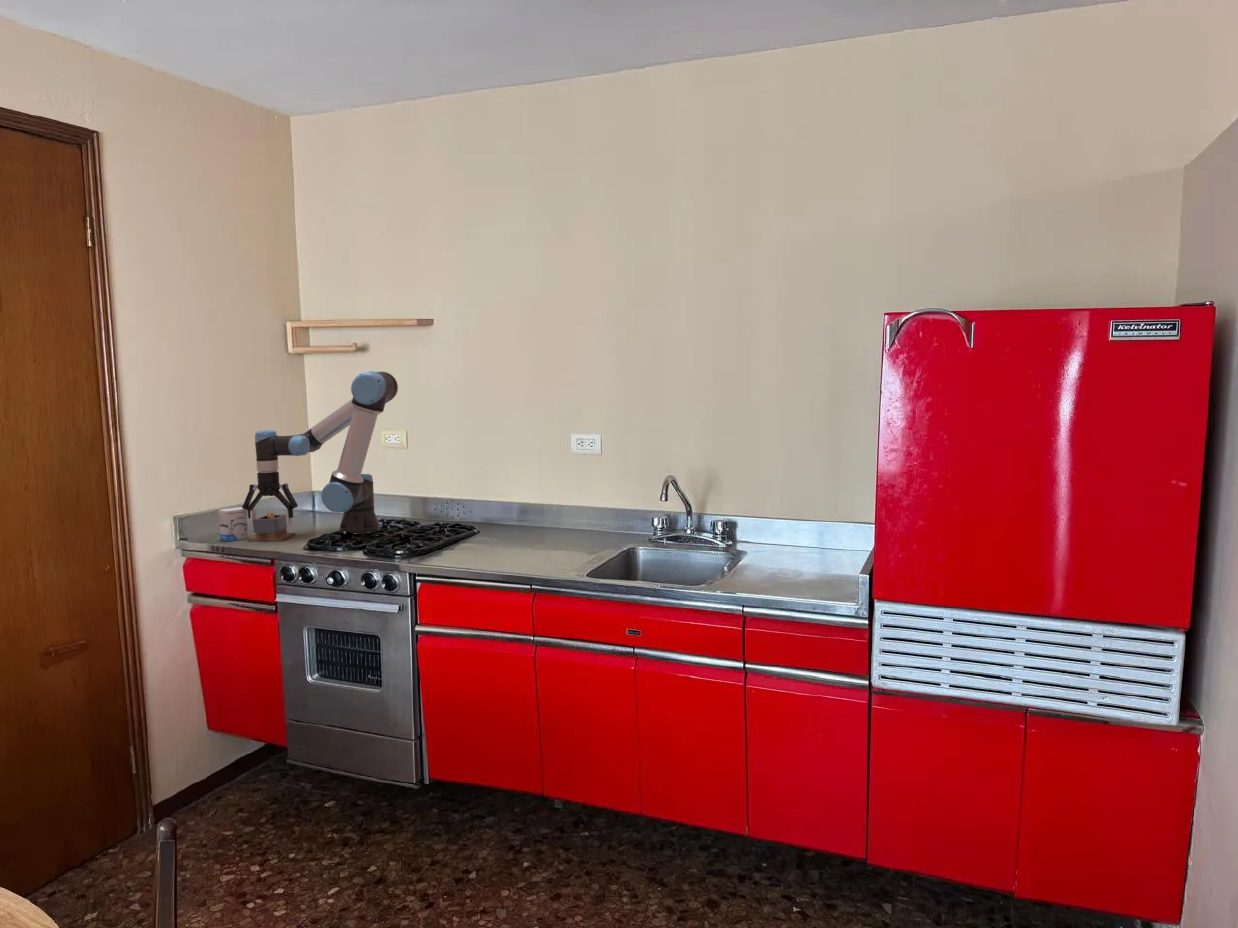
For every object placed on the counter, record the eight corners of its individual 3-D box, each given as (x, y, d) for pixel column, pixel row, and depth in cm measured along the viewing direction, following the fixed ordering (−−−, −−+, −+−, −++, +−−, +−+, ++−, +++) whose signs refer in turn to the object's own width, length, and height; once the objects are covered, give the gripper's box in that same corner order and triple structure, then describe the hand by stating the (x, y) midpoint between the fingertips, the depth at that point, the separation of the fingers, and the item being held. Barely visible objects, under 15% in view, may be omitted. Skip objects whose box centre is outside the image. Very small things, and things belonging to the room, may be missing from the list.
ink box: (226, 542, 305) (224, 511, 304) (220, 540, 308) (217, 509, 307) (248, 538, 312) (246, 507, 311) (242, 536, 315) (240, 506, 314)
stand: (295, 535, 315) (295, 527, 315) (284, 540, 305) (284, 532, 305) (260, 535, 316) (259, 527, 315) (247, 541, 306) (247, 532, 305)
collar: (287, 527, 316) (287, 514, 315) (275, 532, 305) (274, 519, 304) (267, 527, 316) (266, 514, 315) (254, 532, 305) (253, 519, 304)
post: (276, 529, 311) (275, 512, 311) (272, 530, 308) (271, 513, 308) (269, 529, 311) (268, 512, 311) (266, 530, 309) (265, 513, 308)
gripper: (304, 469, 311) (307, 524, 314) (240, 470, 312) (243, 525, 314) (296, 472, 304) (299, 528, 306) (230, 473, 304) (234, 529, 307)
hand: (271, 526), depth 310 cm, fingers open, 13 cm apart
